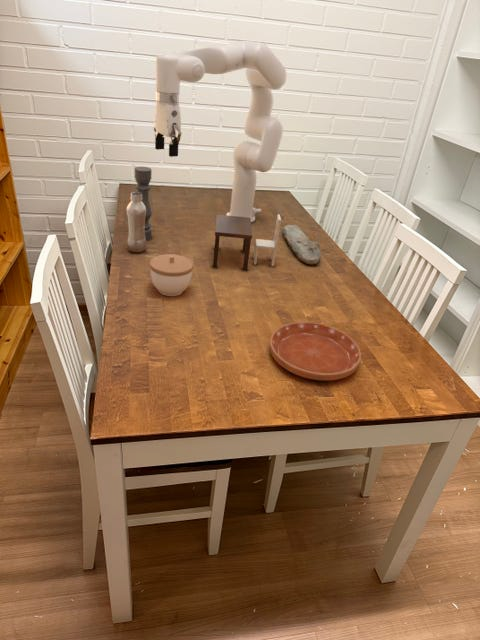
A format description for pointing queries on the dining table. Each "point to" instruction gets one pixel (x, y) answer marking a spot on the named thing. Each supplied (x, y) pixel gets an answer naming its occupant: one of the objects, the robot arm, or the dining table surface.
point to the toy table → (233, 234)
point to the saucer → (315, 351)
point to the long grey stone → (302, 245)
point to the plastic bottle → (136, 223)
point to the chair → (269, 242)
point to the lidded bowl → (171, 273)
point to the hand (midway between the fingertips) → (166, 152)
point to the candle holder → (144, 194)
